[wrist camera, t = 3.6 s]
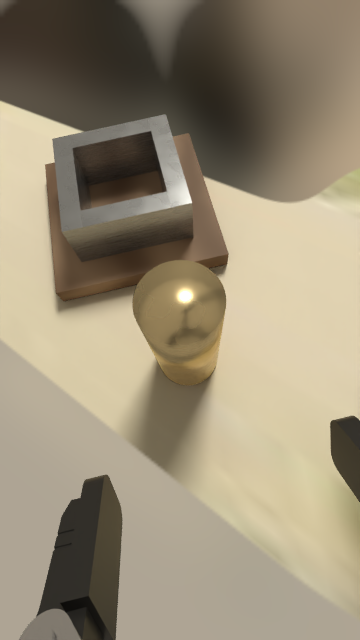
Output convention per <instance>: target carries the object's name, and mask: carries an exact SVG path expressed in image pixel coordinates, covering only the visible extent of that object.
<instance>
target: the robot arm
mask: <svg viewBox="0 0 360 640" xmlns="http://www.w3.org/2000/svg"><path fill="white" fill-rule="evenodd" d="M330 431H331V455H332V459H333V462H334V464H335V466H336V468H337V470H338V471H339V473H340V474H341V476H342V477H343V479H344V480H345V482H346V483H347V485H348V486H349V487H350V489H351V490H352V492H353V493H354V495H355V496H356V498H357V499H358V500H359V502H360V421H359V419H358V418H356V417H355V416H349V417H345V418H341V419H336V420H332V421H331V423H330ZM121 536H122V513H121V506H120V503H119V500H118V498H117V495H116V493H115V491H114V488H113V486H112V483H111V481H110V478H109V477H108V475H103V476H98V477H94V478H90V479H86V480H85V481H84V484H83V488H82V493H81V498H79V499H74V500H71V502H70V503H69V505H68V507H67V508H66V510H65V512H64V513H63V515H62V517H61V522H60V526H59V530H58V536H57V538H56V542H55V546H54V548H55V550H54V551H53V555H52V559H51V563H50V567H49V571H48V575H47V580H46V583H45V588H44V592H43V596H42V600H41V604H40V608H39V611H38V614H37V616H36V618H35V619H34V620H33V621H32V622H31V623H30V624H29V625H28V626H27V628H26V629H25V630H24V632H23V634H22V635H21V637H20V639H19V640H115V639H116V621H117V605H118V604H117V603H118V588H119V571H120V570H119V569H120V553H121Z"/></svg>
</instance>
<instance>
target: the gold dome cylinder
mask: <svg viewBox="0 0 360 640" xmlns="http://www.w3.org/2000/svg"><path fill="white" fill-rule="evenodd" d="M225 309H226V295H225V290H224V288H223V285H222V283H221V281H220V280H219V278H218V277H217V276H216V275H215V274H214V273H213V272H212V271H211V270H210V269H208V268H207V267H205V266H203V265H201V264H199V263H196V262H193V261H187V260H174V261H169V262H165V263H162V264H160V265H158V266H156V267H154V268H153V269H151V270H150V271H149V272H147V273H146V274H145V275H144V276H143V278H142V279H141V280H140V282H139V283H138V285H137V287H136V289H135V292H134V296H133V312H134V316H135V319H136V321H137V323H138V325H139V327H140V329H141V331H142V333H143V334H144V336H145V338H146V340H147V342H148V344H149V346H150V348H151V350H152V352H153V354H154V355H155V357H156V359H157V361H158V363H159V365H160V367H161V369H162V371H163V372H164V374H165V375H166V376H167V377H168V378H169V379H170V380H172V381H173V382H175V383H178V384H181V385H195V384H198V383H201V382H203V381H204V380H206V379H207V378H208V377H209V376H210V375H211V374H212V372H213V371H214V369H215V366H216V363H217V357H218V351H219V345H220V339H221V333H222V327H223V321H224V315H225Z"/></svg>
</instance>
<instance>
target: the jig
mask: <svg viewBox="0 0 360 640" xmlns="http://www.w3.org/2000/svg"><path fill="white" fill-rule="evenodd" d="M53 149H54V159H55V163H51V164H46V165H45V168H46V180H47V192H48V203H49V215H50V227H51V239H52V251H53V263H54V275H55V287H56V294H57V295H58V296H59V297H60V298H61V299H62V300H63V301H67V300H71V299H75V298H80V297H84V296H89V295H93V294H97V293H102V292H106V291H111V290H115V289H119V288H124V287H128V286H133V285H137V284H138V283H139V282H140V280H141V279H142V278H143V276H144V275H145V274H146V273H147V272H149V271H150V270H151V269H153V268H154V267H156V266H158V265H160V264H162V263H165V262H169V261H174V260H187V261H193V262H196V263H199V264H201V265H203V266H205V267H207V268H212V267H216V266H220V265H225V264H227V261H228V251H227V248H226V245H225V242H224V239H223V236H222V233H221V230H220V227H219V224H218V221H217V218H216V215H215V212H214V209H213V205H212V202H211V199H210V196H209V193H208V190H207V187H206V184H205V181H204V178H203V175H202V172H201V169H200V166H199V163H198V160H197V157H196V154H195V151H194V148H193V145H192V142H191V139H190V136H189V134H183V135H179V136H174V137H172V134H171V130H170V128H169V124H168V121H167V117H166V115H160V116H156V117H152V118H147V119H142V120H138V121H133V122H128V123H124V124H119V125H114V126H110V127H105V128H101V129H96V130H91V131H87V132H82V133H78V134H73V135H68V136H64V137H59V138H55V139H53Z"/></svg>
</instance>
